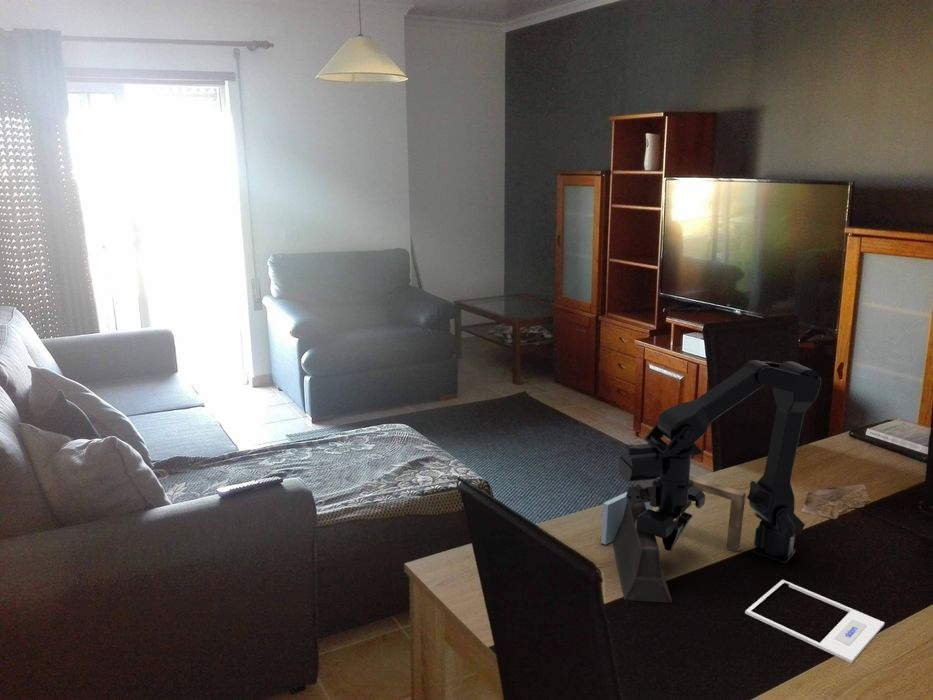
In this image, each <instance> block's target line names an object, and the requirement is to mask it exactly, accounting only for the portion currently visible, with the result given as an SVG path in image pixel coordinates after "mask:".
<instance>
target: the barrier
mask: <svg viewBox="0 0 933 700" xmlns="http://www.w3.org/2000/svg"><path fill="white" fill-rule="evenodd" d="M646 510H647V509H646V506H645V503H644V502H641V503H637V504H633V503H632V502H630V501H629V500H627V504H626V508H625V512H624V516H623V519H622V522H621V524H620V526H619V528H618V531H617V533H616V535H615V538H614V540H613V541H612V548H613V552H614V557H615V563H616V567H617V571H618V572H617V573H618V577H619V581H620V585H621V586H620V587H621V590H622V591H621V592H622V597H623V600H624V601H633V602H635V601H636V602H637V601H638V602H652V603H653V602H655V603H673V601H672V600H673V599H672V597H671V594H670V590H669V588H668V585H667V581H666V578H665V575H664V571H663V569H662V565H661V558H660V549H659V547H660V546H659V544H658V541H657V538H656V537H657V536H655V535H652V534H649V533H646V532H643V531H640V530H637V529H636V528H635V521H636V518H637V517H638V516H639V515H641V514H642V513H643V512H645V511H646Z"/></svg>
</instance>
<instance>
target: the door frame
mask: <svg viewBox="0 0 933 700" xmlns="http://www.w3.org/2000/svg"><path fill="white" fill-rule="evenodd" d="M648 480H650V479H648ZM690 480H693V486H691V487H692V488H695V489H699V490H702V492H703V493H707V494H709V495H710V494H711V495H714V496H718V497H721V498H724V499H727V500H730V509H729V520H728V527H727V528H728V529H727V537H726V546H725V548H726V550H728V551H732V552H734V553H736V552H737V551H738V550H739V549H740V546H741V545H740V544H741V535H742V527H743V521H744V512H745V503H746V502H745V501H746V494H747V493H746V492H744V491H741V490H738V489H734V488H731V487H727V486H724V485H720V484H718V483H714V482H712V481H711V482H710V481H707V480H704V479H701V478H697V477H694V476H691V475H690ZM638 481H645V480H638ZM638 481H635V483H636V482H638Z"/></svg>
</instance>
